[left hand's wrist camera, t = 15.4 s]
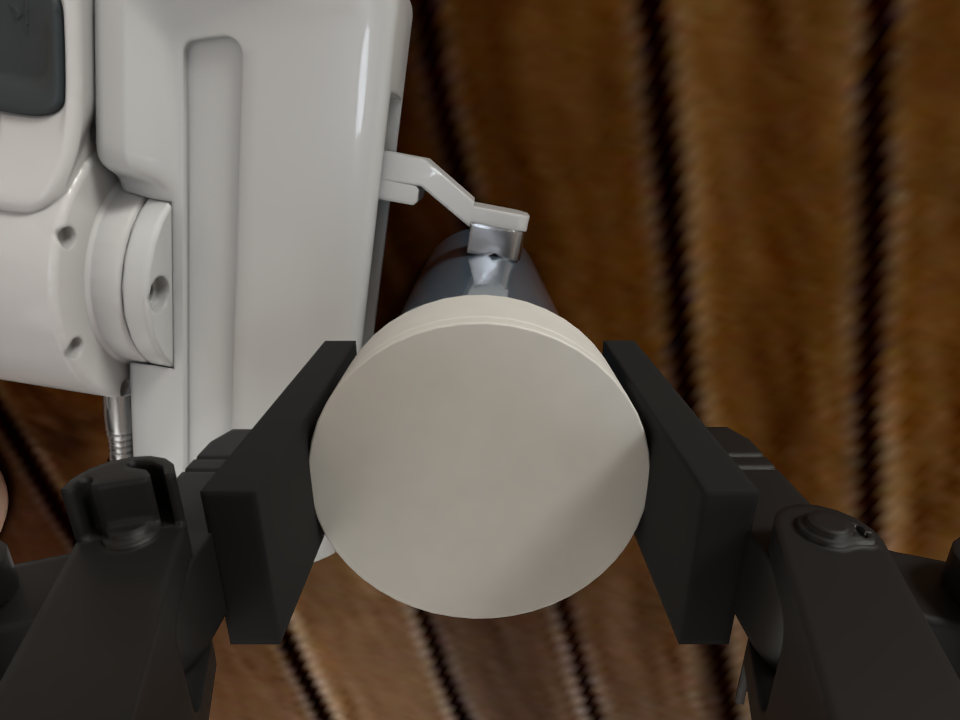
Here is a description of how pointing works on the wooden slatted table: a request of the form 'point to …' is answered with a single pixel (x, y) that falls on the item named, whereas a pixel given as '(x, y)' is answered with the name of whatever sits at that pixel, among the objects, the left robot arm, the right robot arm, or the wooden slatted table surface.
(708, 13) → the wooden slatted table surface
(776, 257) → the wooden slatted table surface
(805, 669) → the left robot arm
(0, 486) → the anatomical model
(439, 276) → the jar
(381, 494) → the lid
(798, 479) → the wooden slatted table surface
